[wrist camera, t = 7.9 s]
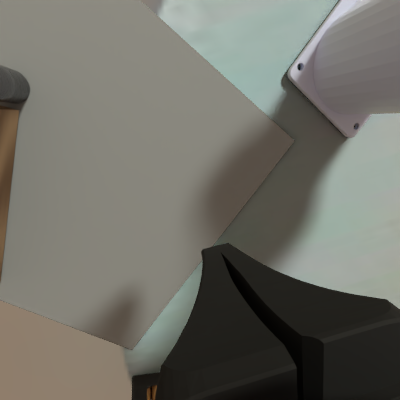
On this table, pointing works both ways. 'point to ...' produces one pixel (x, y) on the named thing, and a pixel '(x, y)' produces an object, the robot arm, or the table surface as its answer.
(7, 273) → the mat
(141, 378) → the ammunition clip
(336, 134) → the table surface
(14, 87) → the hinge post
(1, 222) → the brown rectangular bar
